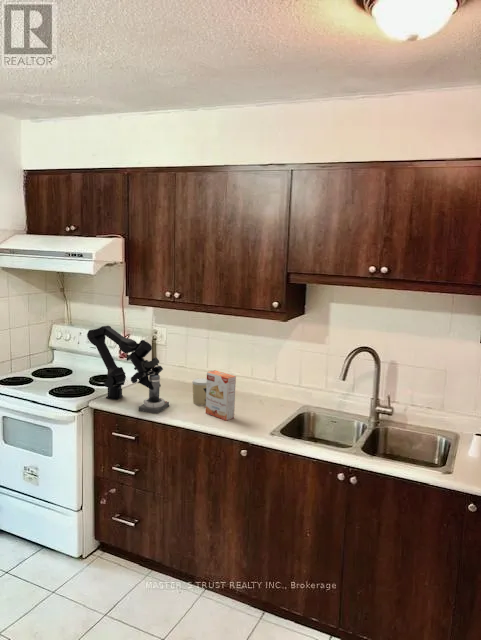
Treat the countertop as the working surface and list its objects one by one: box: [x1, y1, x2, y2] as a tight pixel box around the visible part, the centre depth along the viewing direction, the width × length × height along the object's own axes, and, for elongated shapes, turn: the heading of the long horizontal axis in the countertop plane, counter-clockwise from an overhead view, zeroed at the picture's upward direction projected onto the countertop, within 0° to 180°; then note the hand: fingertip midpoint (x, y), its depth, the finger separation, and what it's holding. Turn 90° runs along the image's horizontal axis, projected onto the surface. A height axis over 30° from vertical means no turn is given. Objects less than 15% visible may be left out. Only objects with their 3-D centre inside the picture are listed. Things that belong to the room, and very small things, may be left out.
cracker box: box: [205, 369, 237, 421], centre depth 246 cm, size 14×6×21 cm, turn 49°
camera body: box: [138, 397, 170, 415], centre depth 254 cm, size 10×13×4 cm
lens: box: [148, 375, 161, 402], centre depth 253 cm, size 5×5×13 cm
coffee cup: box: [192, 377, 207, 407], centre depth 264 cm, size 9×9×12 cm
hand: (156, 388), depth 252 cm, fingers closed on lens, 5 cm apart
